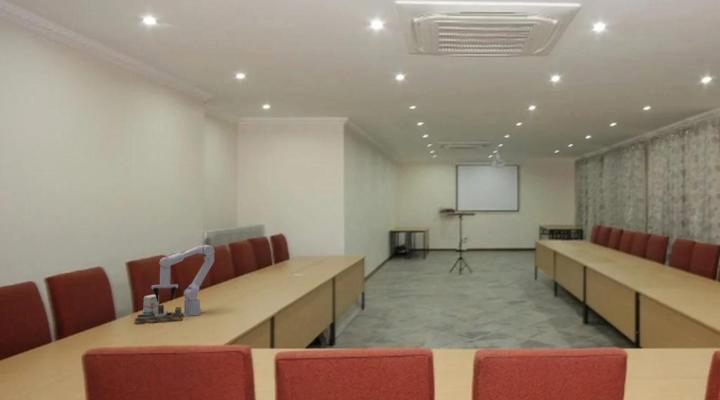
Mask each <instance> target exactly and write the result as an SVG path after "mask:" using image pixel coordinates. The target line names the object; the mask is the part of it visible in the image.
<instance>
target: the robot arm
mask: <svg viewBox="0 0 720 400" xmlns="http://www.w3.org/2000/svg"><path fill="white" fill-rule="evenodd" d="M215 253H216V251H215V249H214V246H212V245H211V244H207V243H206V244H202V245H198V246H195V247H192V248H191V249H188V250H186V251H183V252H179V251H175V252H174V253H173V254H169V255H166V256H165V257H162V258H160V260H159V262H158V264H159V265H160V268H159V284H153V285H151V290H153V292H154V295H156V298H157V301H158V300H159V301H160V296H159V297H158V295H159V290H160V289H171V291H170V294H171V295H170V301H173V298H174V294H175V292H176V290H177V289H178V288H179V284H178V283H175V284H174V283H171V266H173V265H175V264H178V263H180V262H182V261H184V259H185V258H188V257H190V256H193V255H196V254H199V255H202V256H203V259H204V262H203V264H202V265H201V267H200V268H199V270H198V272H197V274H196V275H195V277H194V279H193V280H192V283H190V284H189V285H188V287H187V288H186V289H184V290H183V297H184V299H183V301H184V302H183V304H184V305H183V307H184V309H183V310H184V311H183V317H186V316H187V317H189V316H199V315H201V299H197V298H198V296H199V295H198V293H199V291H200V287H201V286H202V283H203V281H204V279H206V276H207V274H208V273H209V272H210V269H211V267H212V266H213V265H214V263H215Z"/></svg>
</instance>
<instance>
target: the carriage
mask: <svg viewBox="0 0 720 400" xmlns="http://www.w3.org/2000/svg"><path fill="white" fill-rule="evenodd" d="M164 309H165V308H164V304H159V305H158V312H156V313H155V317H159V316H168V313H169V311H165V310H164Z"/></svg>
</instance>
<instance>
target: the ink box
mask: <svg viewBox="0 0 720 400" xmlns="http://www.w3.org/2000/svg"><path fill="white" fill-rule="evenodd" d="M158 297H159V298H160V294H158ZM158 305H160V299H159V300H158V301H157V298H156V295H155V294H149V295H144V297H143V309H142V310H143V311H142V314H155V313H156V312H158Z"/></svg>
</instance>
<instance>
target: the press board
mask: <svg viewBox="0 0 720 400" xmlns="http://www.w3.org/2000/svg"><path fill="white" fill-rule="evenodd" d="M183 314H184V312H183V313H182V307H181V306H178V307H177V306H176V307H175V310H174V311H170V312H169V311H168V316H159V317H155V314H143V313H141V314H137V315H136V316H137V317H135V319H134V325H135V324H136V325H145V323H149V324H158V323H159V324H161V323H171V322H173V323H174V322H182V321H183V319H184V316H183Z"/></svg>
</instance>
